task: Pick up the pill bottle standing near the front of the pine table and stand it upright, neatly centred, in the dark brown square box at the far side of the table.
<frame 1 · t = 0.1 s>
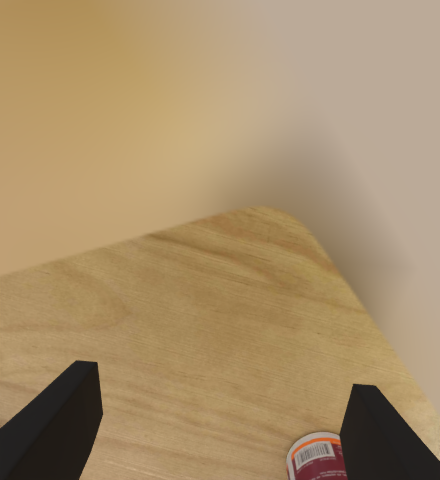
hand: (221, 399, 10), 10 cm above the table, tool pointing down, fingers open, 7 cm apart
pill bottle: (321, 456, 23), on the table
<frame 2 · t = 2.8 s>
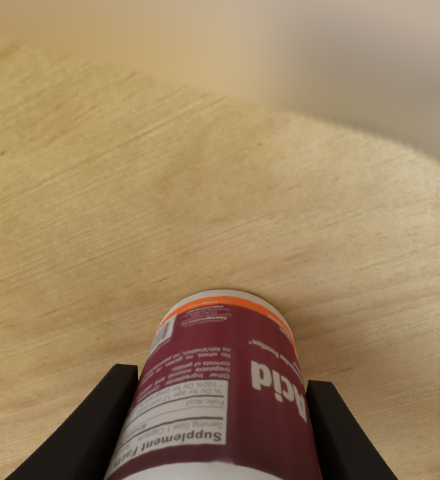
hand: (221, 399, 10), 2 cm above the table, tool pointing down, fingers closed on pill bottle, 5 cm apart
pill bottle: (224, 339, 13), on the table, touching gripper
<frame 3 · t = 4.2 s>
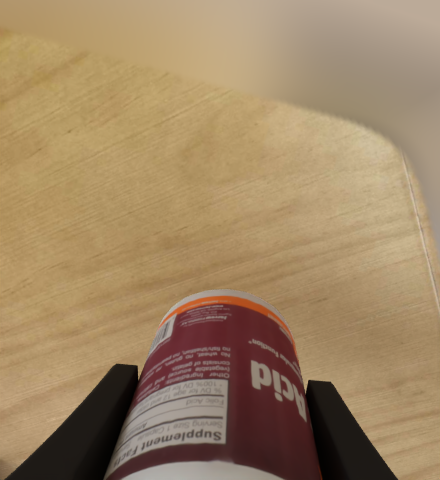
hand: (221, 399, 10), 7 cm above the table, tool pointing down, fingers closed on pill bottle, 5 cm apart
pill bottle: (224, 338, 13), point 4 cm above the table, touching gripper
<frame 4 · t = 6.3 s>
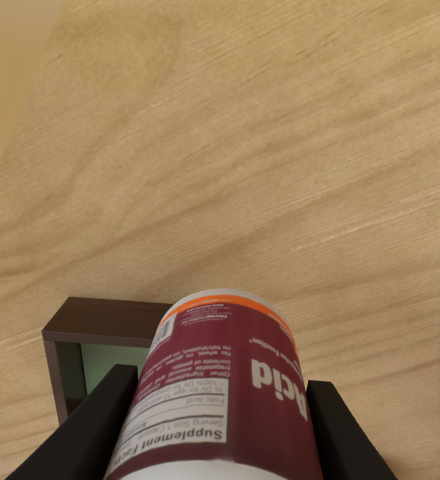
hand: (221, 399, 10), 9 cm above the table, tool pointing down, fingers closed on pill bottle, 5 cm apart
dark brown square box: (140, 356, 21), on the table
pill bottle: (225, 338, 13), point 6 cm above the table, touching gripper
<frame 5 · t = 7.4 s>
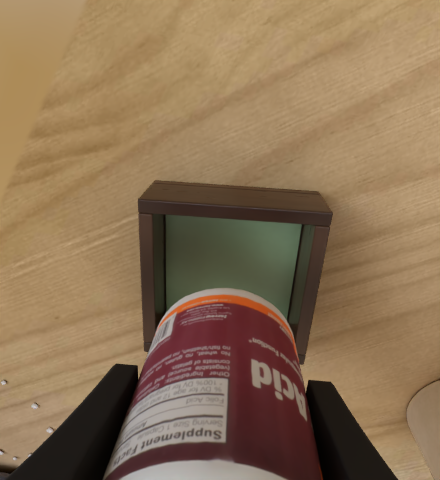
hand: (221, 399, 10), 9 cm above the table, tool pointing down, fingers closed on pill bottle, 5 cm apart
dark brown square box: (230, 258, 18), on the table
pill bottle: (224, 337, 13), point 6 cm above the table, touching gripper
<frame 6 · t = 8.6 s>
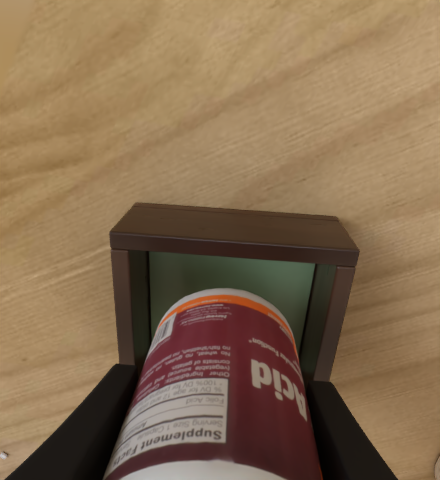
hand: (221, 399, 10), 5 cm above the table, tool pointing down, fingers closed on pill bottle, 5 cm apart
dark brown square box: (228, 294, 15), on the table
pill bottle: (224, 338, 12), point 3 cm above the table, touching gripper
when the fingers open (3 cm above the table, at t = 9.8 s): pill bottle stays where it is, resting on dark brown square box.
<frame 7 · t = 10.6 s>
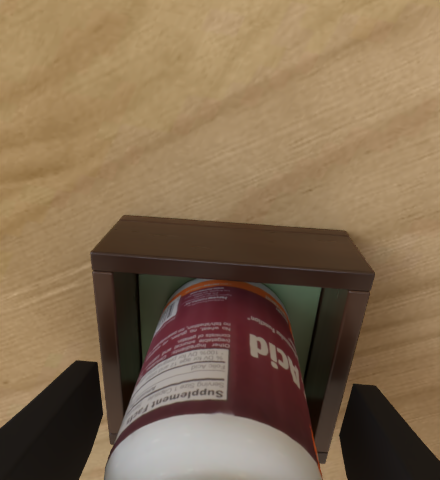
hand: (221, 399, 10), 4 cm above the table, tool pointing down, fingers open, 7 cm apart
dark brown square box: (226, 315, 14), on the table
pill bottle: (225, 321, 13), point 1 cm above the table, touching dark brown square box
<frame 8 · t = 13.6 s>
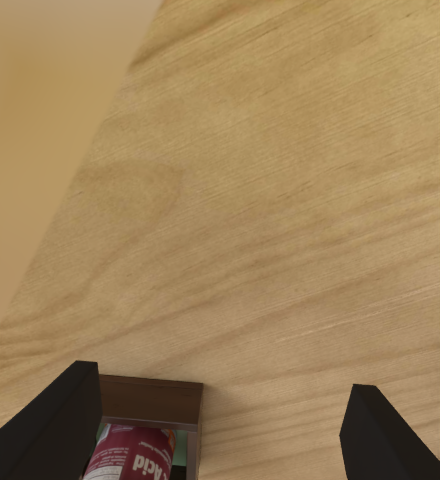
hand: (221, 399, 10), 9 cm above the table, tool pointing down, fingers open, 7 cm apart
dark brown square box: (144, 421, 24), on the table
pill bottle: (142, 427, 24), point 1 cm above the table, touching dark brown square box
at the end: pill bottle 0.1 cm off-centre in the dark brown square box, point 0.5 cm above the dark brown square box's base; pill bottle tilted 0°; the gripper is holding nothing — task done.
